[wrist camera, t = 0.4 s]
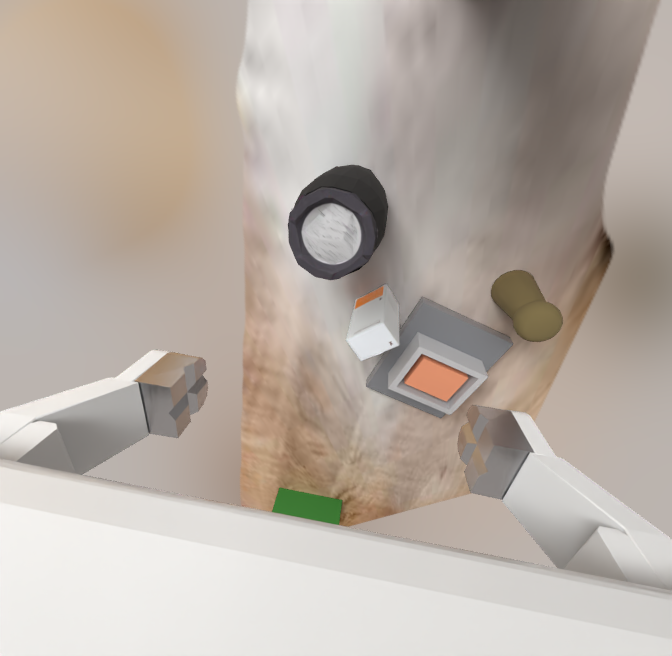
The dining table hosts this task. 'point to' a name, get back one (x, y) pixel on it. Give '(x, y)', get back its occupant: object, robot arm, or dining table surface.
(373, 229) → the portable speaker
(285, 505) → the hardback book
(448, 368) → the button
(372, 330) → the skincare box
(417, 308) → the switch box
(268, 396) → the dining table surface
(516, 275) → the cork
